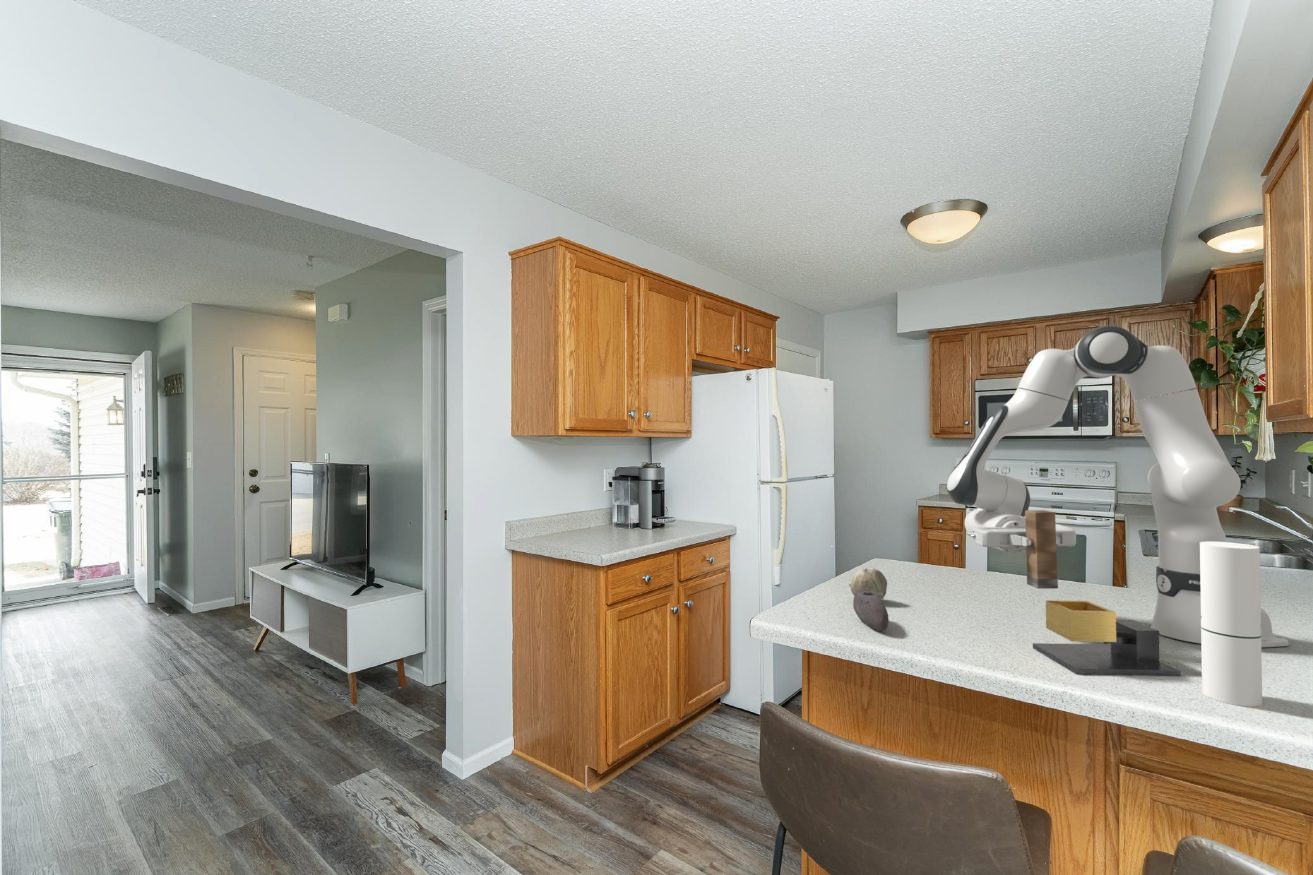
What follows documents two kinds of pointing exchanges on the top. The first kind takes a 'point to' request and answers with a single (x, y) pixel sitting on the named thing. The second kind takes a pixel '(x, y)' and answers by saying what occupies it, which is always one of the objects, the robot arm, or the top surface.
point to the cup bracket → (1124, 640)
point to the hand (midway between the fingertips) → (1043, 542)
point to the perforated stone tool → (870, 610)
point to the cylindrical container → (1231, 623)
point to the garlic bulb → (869, 582)
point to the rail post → (1041, 549)
